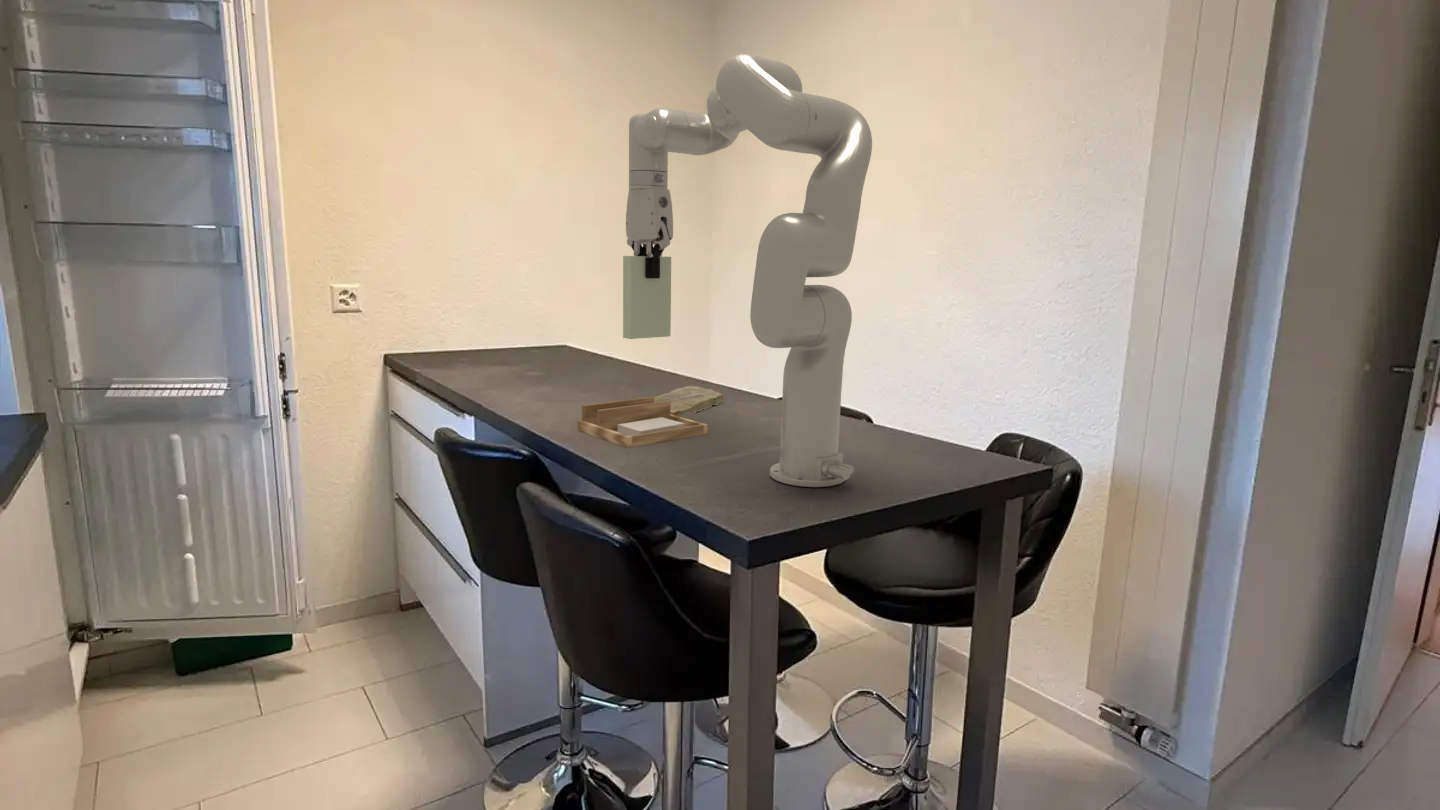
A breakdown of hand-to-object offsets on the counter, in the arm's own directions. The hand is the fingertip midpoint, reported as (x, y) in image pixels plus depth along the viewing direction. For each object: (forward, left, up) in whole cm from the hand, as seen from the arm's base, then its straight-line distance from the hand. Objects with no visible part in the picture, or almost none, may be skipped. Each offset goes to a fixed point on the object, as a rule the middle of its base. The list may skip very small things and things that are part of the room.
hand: (647, 277), depth 157 cm
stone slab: (+14, -21, -32) cm, 41 cm away
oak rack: (-5, +5, -31) cm, 32 cm away
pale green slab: (0, 0, -12) cm, 12 cm away
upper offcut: (-8, +5, -30) cm, 31 cm away
